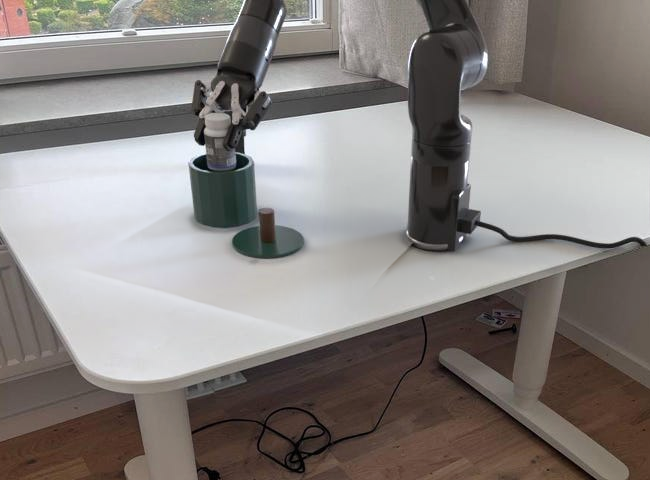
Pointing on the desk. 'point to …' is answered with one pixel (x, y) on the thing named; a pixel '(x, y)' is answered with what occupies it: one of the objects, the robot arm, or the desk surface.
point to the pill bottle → (218, 142)
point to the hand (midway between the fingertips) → (213, 145)
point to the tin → (223, 192)
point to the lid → (267, 238)
